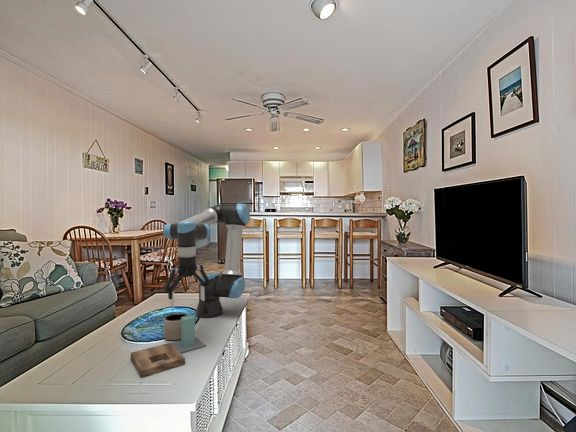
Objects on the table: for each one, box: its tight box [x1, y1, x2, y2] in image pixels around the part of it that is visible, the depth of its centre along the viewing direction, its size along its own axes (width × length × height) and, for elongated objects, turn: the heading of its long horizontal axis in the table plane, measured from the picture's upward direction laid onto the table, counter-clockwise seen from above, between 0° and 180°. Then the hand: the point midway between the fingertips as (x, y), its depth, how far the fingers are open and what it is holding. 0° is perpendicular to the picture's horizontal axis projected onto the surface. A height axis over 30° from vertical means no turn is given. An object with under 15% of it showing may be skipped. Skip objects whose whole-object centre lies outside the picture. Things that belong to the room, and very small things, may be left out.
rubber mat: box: [170, 336, 207, 354], centre depth 141 cm, size 12×12×1 cm
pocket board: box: [130, 342, 186, 379], centre depth 126 cm, size 16×18×2 cm
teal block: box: [181, 314, 196, 347], centre depth 141 cm, size 4×4×12 cm
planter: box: [163, 312, 189, 342], centre depth 151 cm, size 11×11×10 cm
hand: (188, 303), depth 141 cm, fingers open, 13 cm apart
